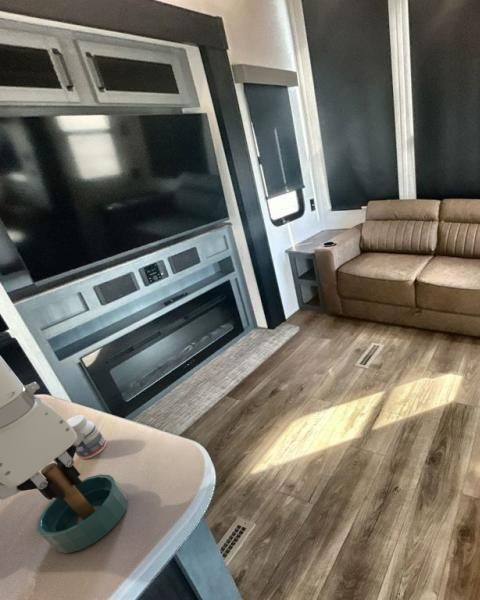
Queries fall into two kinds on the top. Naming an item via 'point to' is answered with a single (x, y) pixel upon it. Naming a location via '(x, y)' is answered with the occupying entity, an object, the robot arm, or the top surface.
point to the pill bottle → (87, 437)
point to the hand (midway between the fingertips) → (66, 489)
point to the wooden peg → (69, 491)
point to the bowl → (63, 519)
